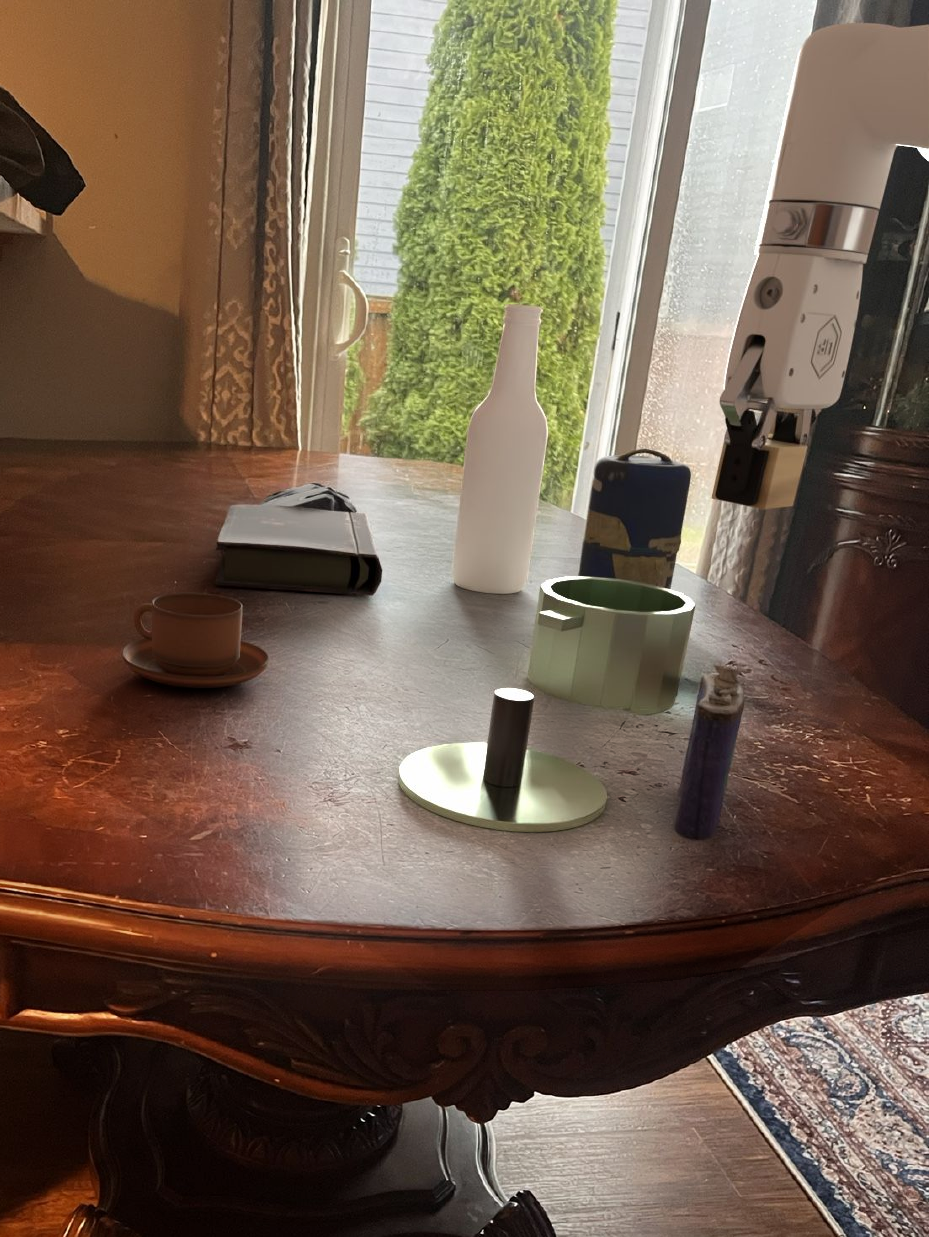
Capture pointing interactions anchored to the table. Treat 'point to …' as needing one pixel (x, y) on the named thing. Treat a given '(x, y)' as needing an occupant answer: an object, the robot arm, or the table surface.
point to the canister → (635, 518)
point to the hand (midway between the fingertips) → (753, 497)
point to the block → (776, 474)
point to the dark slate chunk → (312, 498)
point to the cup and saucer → (194, 643)
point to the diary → (298, 550)
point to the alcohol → (503, 467)
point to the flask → (709, 752)
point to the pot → (610, 643)
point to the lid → (503, 777)
